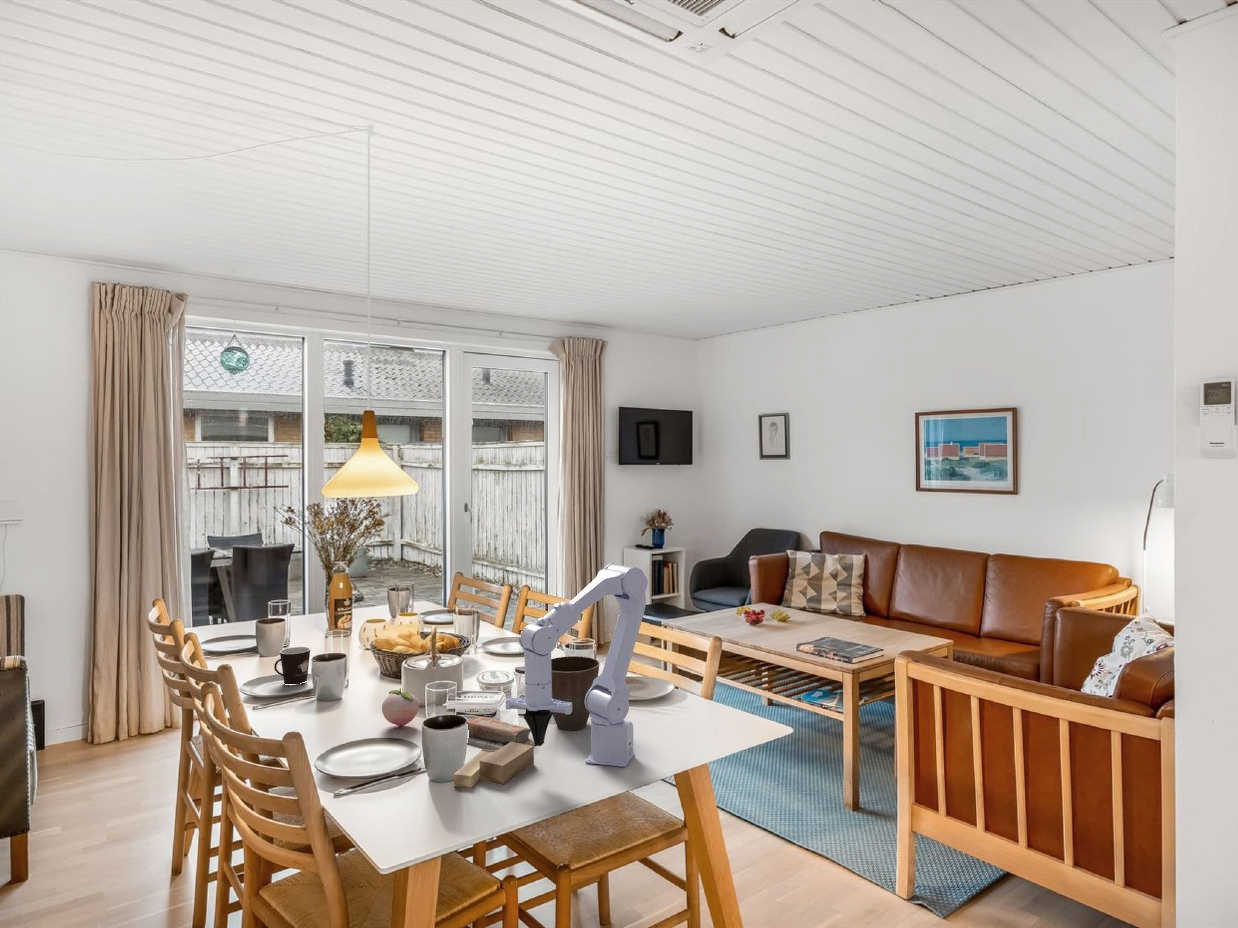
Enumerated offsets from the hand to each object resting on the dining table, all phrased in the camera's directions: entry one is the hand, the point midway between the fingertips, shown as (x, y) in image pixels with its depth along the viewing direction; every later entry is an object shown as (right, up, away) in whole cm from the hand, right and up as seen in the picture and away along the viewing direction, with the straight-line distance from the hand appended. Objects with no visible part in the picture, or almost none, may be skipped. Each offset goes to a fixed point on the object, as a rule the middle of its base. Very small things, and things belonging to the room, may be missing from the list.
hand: (539, 744), depth 165 cm
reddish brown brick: (-12, -8, +21) cm, 26 cm away
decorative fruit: (-39, -7, +32) cm, 51 cm away
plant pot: (+5, -7, +32) cm, 33 cm away
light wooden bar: (-14, -7, +3) cm, 16 cm away
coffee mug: (-83, -7, +70) cm, 109 cm away
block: (-7, -8, +3) cm, 11 cm away
